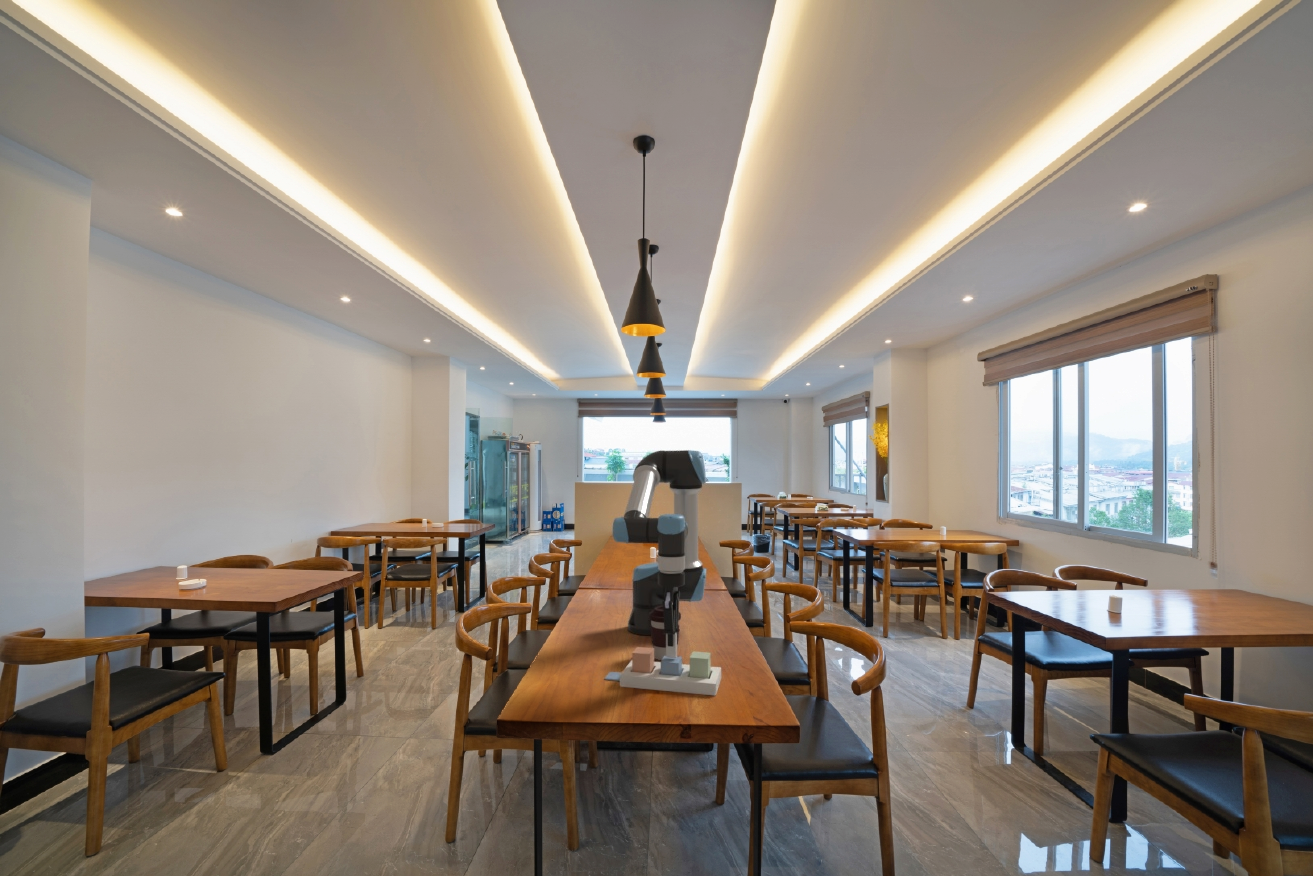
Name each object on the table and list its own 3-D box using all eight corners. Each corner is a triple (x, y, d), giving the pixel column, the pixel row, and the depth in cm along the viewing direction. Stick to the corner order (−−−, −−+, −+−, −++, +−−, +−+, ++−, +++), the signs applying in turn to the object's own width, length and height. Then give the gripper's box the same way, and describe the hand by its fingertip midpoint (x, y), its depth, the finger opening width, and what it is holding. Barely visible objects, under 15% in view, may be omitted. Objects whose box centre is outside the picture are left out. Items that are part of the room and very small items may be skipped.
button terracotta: (637, 665, 160) (637, 647, 160) (654, 667, 159) (654, 648, 159) (632, 672, 155) (632, 652, 155) (649, 673, 154) (649, 654, 154)
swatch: (610, 673, 161) (610, 671, 161) (626, 674, 160) (626, 673, 160) (604, 679, 157) (604, 678, 157) (621, 681, 155) (621, 679, 155)
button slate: (664, 674, 158) (664, 655, 158) (682, 675, 157) (682, 657, 157) (660, 681, 153) (660, 661, 153) (678, 682, 152) (678, 663, 152)
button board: (631, 670, 164) (631, 659, 164) (721, 678, 158) (721, 667, 158) (619, 686, 152) (619, 675, 152) (715, 695, 146) (715, 684, 146)
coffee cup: (678, 664, 169) (678, 613, 169) (645, 661, 171) (646, 611, 171) (683, 653, 178) (683, 605, 179) (652, 650, 180) (652, 603, 181)
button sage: (692, 670, 156) (692, 651, 156) (710, 672, 155) (710, 652, 155) (689, 677, 151) (689, 657, 151) (708, 678, 150) (708, 659, 150)
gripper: (663, 565, 163) (663, 648, 162) (652, 574, 151) (652, 664, 150) (688, 566, 162) (688, 650, 161) (680, 576, 149) (680, 666, 148)
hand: (671, 656), depth 155 cm, fingers closed
